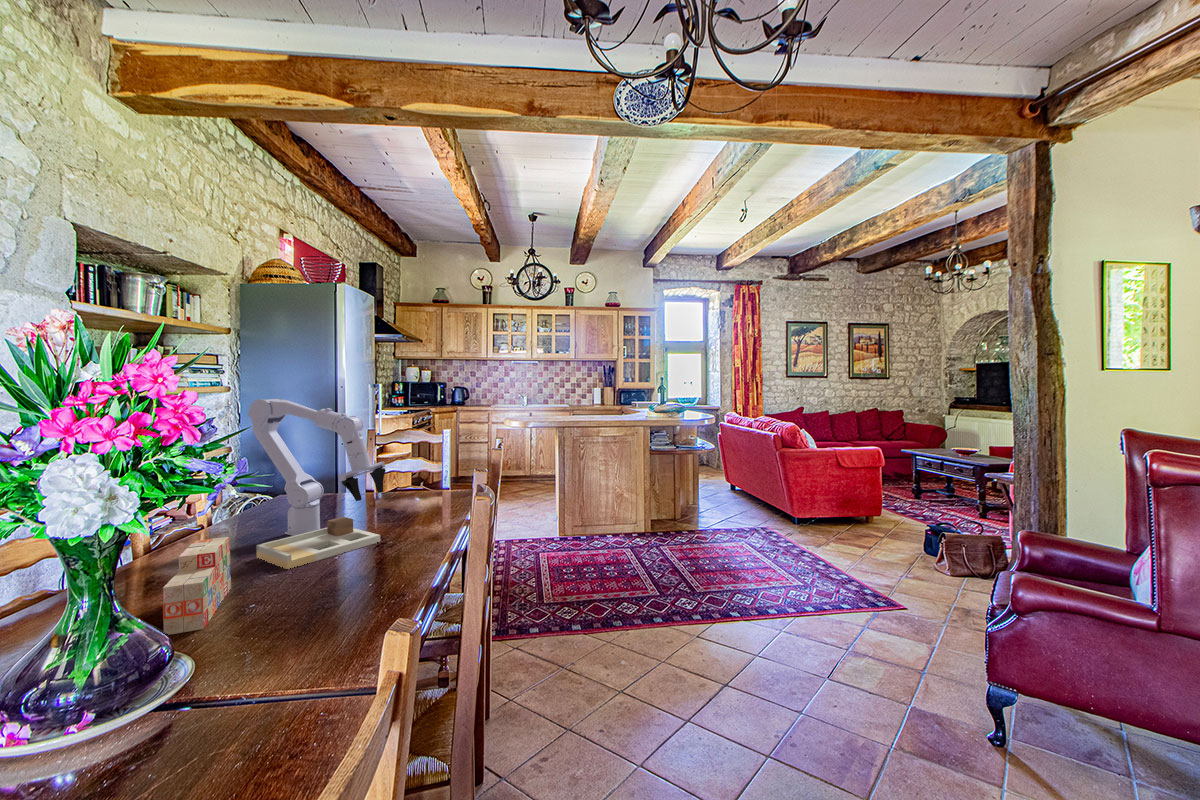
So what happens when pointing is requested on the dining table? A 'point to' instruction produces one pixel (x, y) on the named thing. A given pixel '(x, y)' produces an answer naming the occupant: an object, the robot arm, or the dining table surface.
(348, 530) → the walnut block
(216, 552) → the stack of blocks
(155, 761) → the dining table surface
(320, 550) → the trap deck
